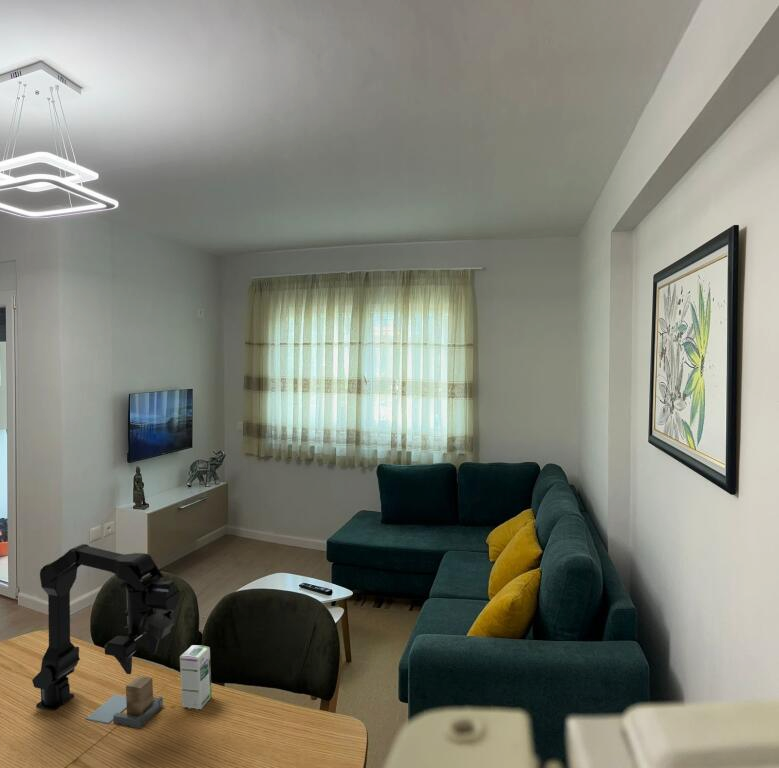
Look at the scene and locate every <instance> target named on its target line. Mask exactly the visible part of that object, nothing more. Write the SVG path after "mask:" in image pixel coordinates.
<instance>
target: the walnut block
mask: <svg viewBox="0 0 779 768" xmlns="http://www.w3.org/2000/svg"><path fill="white" fill-rule="evenodd" d="M153 682H154V681H153V677H149V676H144V675H137V676H136V677H134V678H133V679H132V680H131V681H129V683H127V684H126V685H125V697H126V704H127V708H126V714H127V715H132V716H139V715H140V714H142V713H143V712H144V711H145V710H146V709H147V708H148V707H149V706H150V705H151V704H152V703H153V697H154V686H153V685H154V683H153Z"/></svg>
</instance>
